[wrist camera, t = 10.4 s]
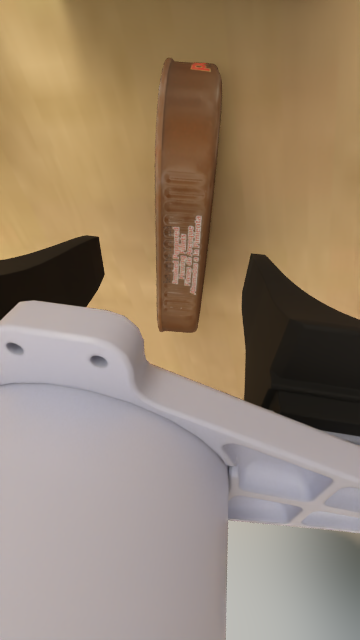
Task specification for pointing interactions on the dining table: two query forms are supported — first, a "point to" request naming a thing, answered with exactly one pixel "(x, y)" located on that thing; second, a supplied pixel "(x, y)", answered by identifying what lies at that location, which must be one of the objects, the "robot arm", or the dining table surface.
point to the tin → (184, 187)
